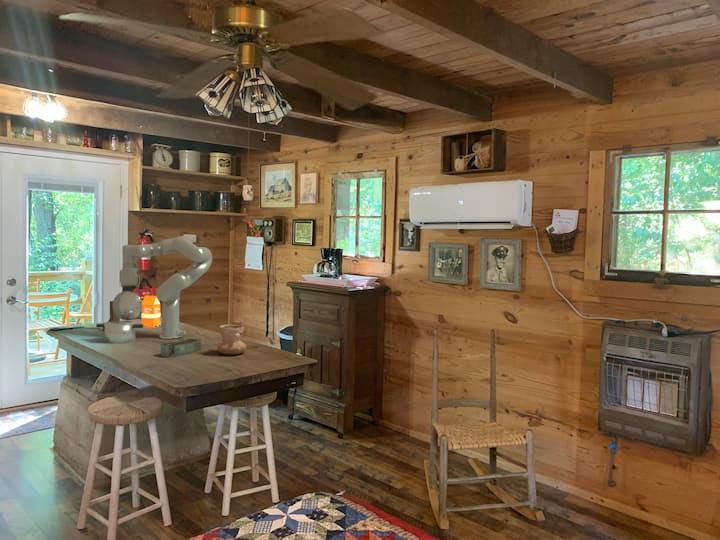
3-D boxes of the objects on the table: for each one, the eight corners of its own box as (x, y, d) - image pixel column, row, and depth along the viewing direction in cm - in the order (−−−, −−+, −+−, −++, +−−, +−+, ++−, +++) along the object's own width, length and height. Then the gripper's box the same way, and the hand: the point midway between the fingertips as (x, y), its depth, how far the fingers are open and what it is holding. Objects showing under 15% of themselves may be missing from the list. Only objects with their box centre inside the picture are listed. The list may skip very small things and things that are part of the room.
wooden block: (105, 331, 338) (105, 302, 337) (102, 330, 341) (102, 301, 340) (120, 329, 345) (119, 301, 344) (116, 328, 348) (116, 300, 347)
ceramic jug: (251, 355, 281) (252, 327, 280) (224, 358, 272) (224, 329, 272) (237, 349, 295) (237, 322, 295) (211, 352, 287) (211, 324, 286)
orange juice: (153, 327, 355) (153, 296, 353) (141, 326, 357) (141, 296, 356) (160, 325, 362) (160, 295, 361) (148, 324, 364) (148, 294, 363)
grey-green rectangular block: (159, 355, 277) (159, 342, 277) (192, 349, 292) (192, 337, 292) (168, 358, 272) (168, 344, 272) (201, 352, 287) (201, 339, 287)
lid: (141, 320, 319) (143, 320, 323) (142, 286, 320) (144, 286, 323) (112, 319, 320) (115, 319, 323) (113, 286, 320) (115, 286, 324)
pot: (149, 338, 320) (148, 321, 320) (136, 343, 303) (136, 325, 303) (105, 337, 321) (105, 320, 320) (90, 343, 304) (90, 325, 303)
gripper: (145, 265, 326) (145, 296, 327) (120, 265, 326) (120, 296, 328) (139, 266, 318) (139, 298, 320) (114, 266, 319) (114, 297, 320)
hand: (130, 297), depth 324 cm, fingers closed
